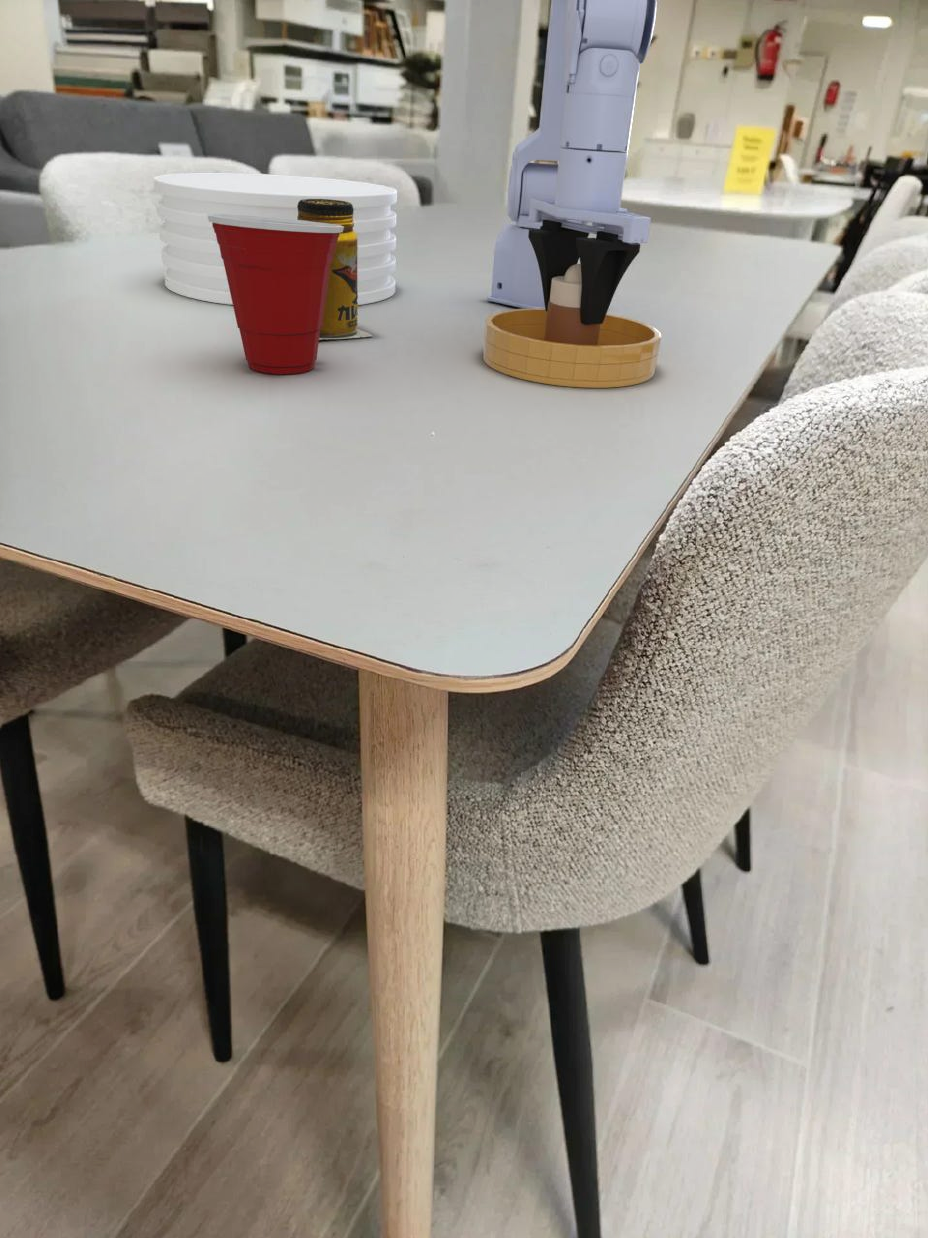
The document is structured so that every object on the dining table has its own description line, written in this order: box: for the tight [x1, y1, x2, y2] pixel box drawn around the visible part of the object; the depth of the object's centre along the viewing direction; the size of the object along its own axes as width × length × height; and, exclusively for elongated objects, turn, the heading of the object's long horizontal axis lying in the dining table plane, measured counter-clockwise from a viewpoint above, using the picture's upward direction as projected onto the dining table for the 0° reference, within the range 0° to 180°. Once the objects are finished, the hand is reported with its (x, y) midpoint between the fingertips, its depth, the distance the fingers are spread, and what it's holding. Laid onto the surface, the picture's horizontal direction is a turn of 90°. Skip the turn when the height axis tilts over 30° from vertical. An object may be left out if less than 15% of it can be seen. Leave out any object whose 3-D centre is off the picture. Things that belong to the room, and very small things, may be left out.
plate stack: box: [153, 172, 398, 306], centre depth 104 cm, size 28×28×12 cm
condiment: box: [297, 199, 373, 341], centre depth 84 cm, size 7×8×12 cm
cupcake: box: [544, 263, 600, 346], centre depth 79 cm, size 5×5×7 cm
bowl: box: [482, 308, 662, 389], centre depth 81 cm, size 16×16×4 cm
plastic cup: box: [207, 214, 344, 375], centre depth 72 cm, size 11×11×12 cm
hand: (573, 317), depth 79 cm, fingers closed on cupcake, 5 cm apart
